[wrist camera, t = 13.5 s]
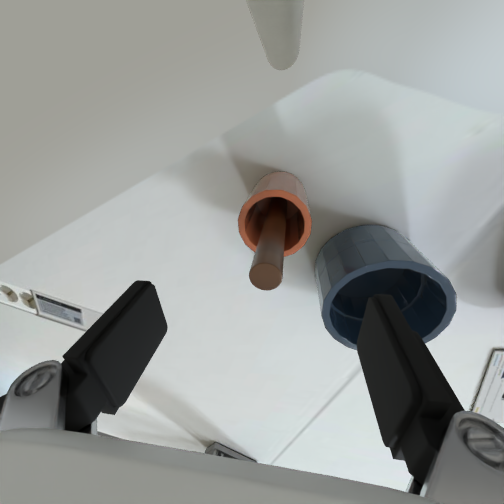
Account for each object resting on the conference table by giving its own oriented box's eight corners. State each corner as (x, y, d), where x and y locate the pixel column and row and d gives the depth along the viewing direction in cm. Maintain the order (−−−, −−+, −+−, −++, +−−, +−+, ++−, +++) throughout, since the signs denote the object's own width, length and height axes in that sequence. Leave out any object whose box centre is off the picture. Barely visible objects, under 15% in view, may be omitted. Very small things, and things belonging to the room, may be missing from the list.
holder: (252, 171, 27) (235, 190, 19) (307, 170, 26) (314, 189, 18) (254, 222, 30) (240, 256, 22) (304, 223, 29) (308, 259, 21)
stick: (270, 193, 27) (248, 262, 13) (287, 193, 27) (282, 263, 13) (270, 209, 28) (249, 289, 14) (287, 209, 28) (282, 291, 14)
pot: (318, 222, 29) (329, 258, 21) (425, 223, 27) (479, 263, 19) (311, 297, 34) (317, 348, 27) (398, 303, 32) (432, 359, 25)
